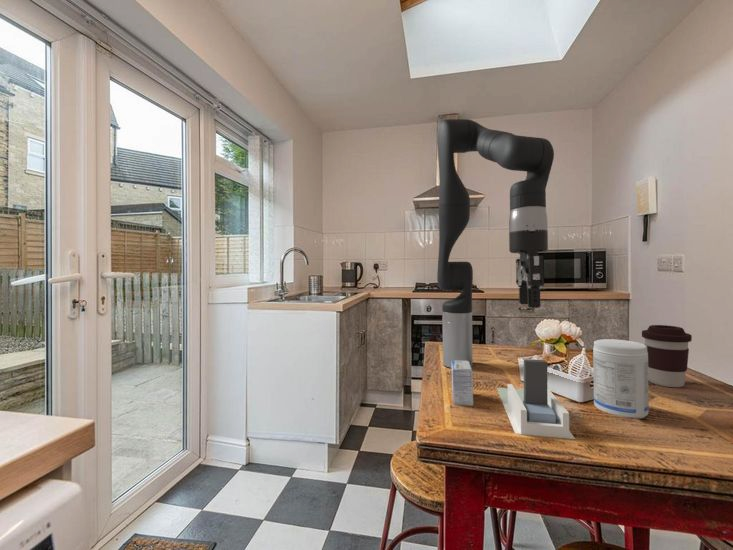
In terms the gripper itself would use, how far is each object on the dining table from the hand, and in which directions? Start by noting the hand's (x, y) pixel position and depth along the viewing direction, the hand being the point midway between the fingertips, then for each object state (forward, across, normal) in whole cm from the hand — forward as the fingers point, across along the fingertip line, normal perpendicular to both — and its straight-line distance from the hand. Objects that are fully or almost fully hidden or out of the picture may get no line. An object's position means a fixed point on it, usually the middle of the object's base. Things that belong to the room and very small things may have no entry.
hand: (529, 305), depth 74 cm
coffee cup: (+23, -27, +39) cm, 52 cm away
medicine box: (+23, -4, -14) cm, 27 cm away
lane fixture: (+23, -1, 0) cm, 23 cm away
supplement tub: (+23, -5, +19) cm, 30 cm away
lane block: (+23, +7, 0) cm, 24 cm away
